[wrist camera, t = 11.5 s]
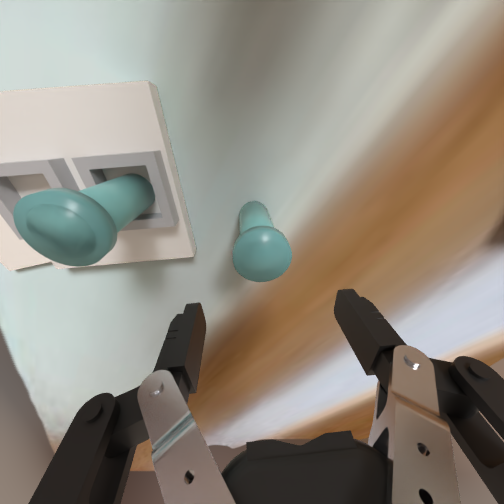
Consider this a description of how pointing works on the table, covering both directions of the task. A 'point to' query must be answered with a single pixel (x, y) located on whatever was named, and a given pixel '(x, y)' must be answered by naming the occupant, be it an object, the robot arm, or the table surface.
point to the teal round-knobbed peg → (260, 245)
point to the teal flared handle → (81, 218)
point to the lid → (16, 250)
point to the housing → (96, 158)
